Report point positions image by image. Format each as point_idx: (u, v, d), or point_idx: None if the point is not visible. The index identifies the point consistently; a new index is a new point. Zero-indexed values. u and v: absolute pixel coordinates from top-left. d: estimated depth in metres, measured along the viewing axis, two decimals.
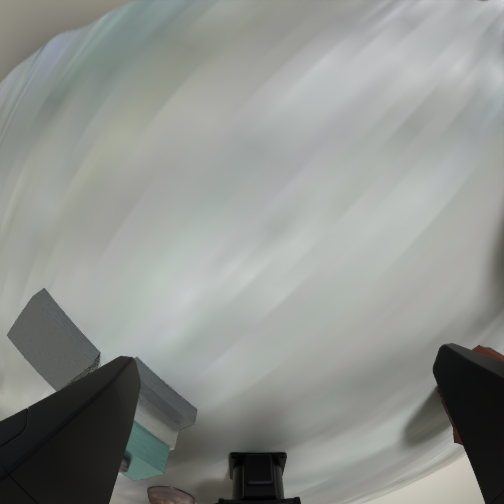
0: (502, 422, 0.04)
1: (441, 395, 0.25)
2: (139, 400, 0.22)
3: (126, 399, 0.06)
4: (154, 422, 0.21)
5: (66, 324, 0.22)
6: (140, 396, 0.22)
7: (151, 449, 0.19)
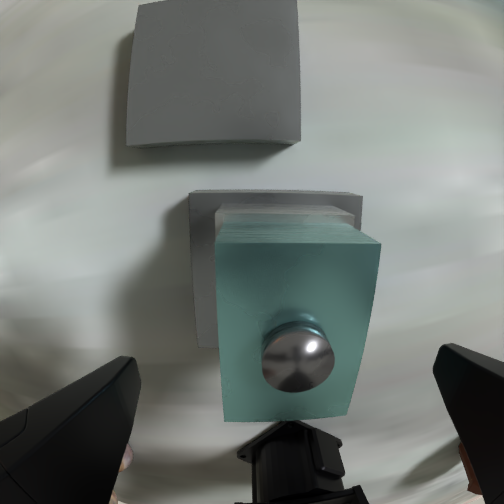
0: (502, 422, 0.04)
1: None
2: None
3: (126, 399, 0.06)
4: None
5: None
6: None
7: None
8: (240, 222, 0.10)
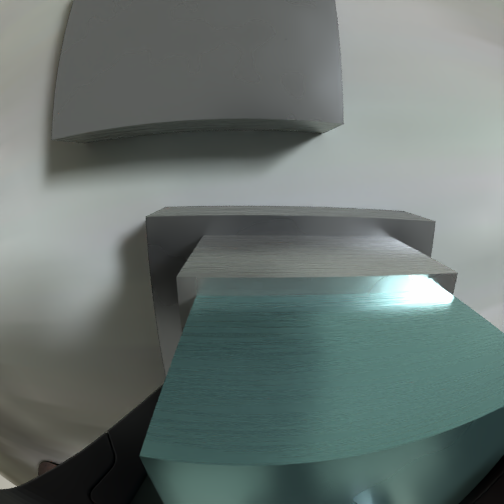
0: None
1: None
2: None
3: None
4: None
5: None
6: None
7: None
8: (233, 299, 0.04)
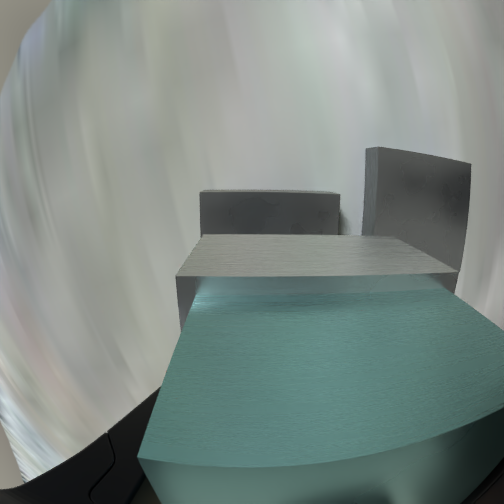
0: None
1: None
2: None
3: None
4: None
5: (268, 190, 0.17)
6: None
7: None
8: (233, 298, 0.04)
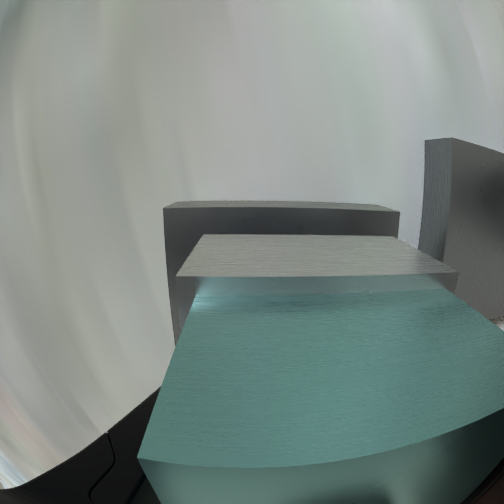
0: None
1: None
2: None
3: None
4: None
5: (281, 203, 0.10)
6: None
7: None
8: (233, 298, 0.04)
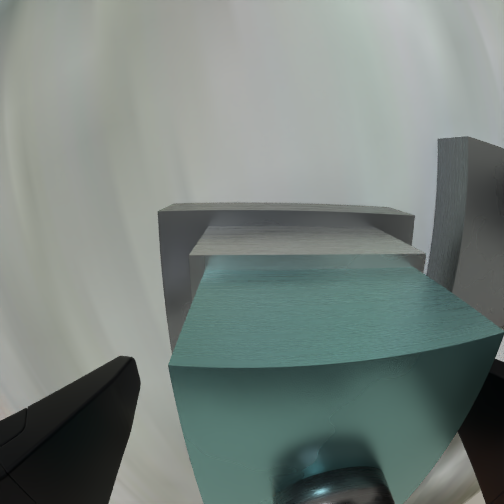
0: (502, 422, 0.04)
1: None
2: None
3: (125, 399, 0.06)
4: None
5: (287, 205, 0.09)
6: None
7: None
8: (235, 272, 0.06)
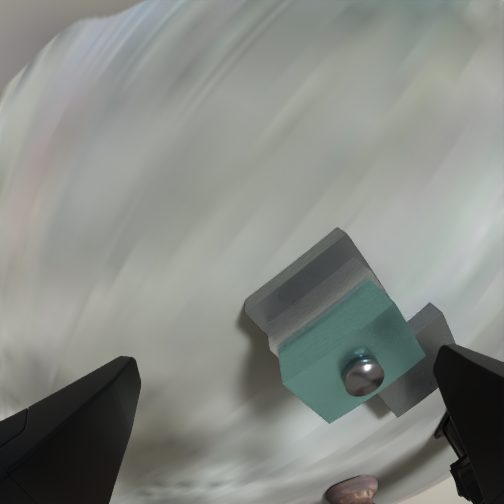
0: (502, 422, 0.04)
1: None
2: None
3: (126, 399, 0.06)
4: None
5: None
6: None
7: None
8: None
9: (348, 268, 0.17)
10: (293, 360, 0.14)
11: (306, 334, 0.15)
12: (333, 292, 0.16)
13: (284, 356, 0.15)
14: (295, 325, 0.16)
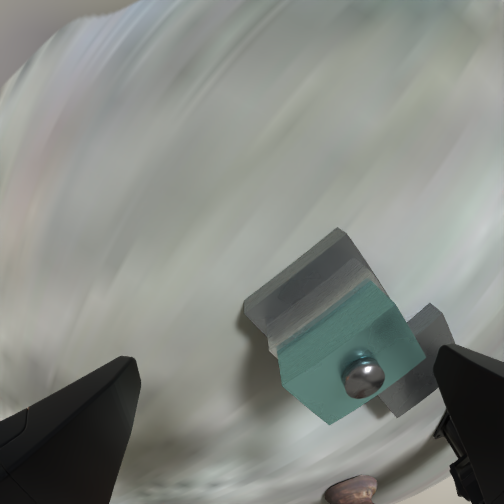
0: (502, 422, 0.04)
1: None
2: None
3: (126, 399, 0.06)
4: None
5: None
6: None
7: None
8: None
9: (348, 269, 0.17)
10: (293, 362, 0.14)
11: (306, 335, 0.15)
12: (333, 293, 0.16)
13: (284, 358, 0.15)
14: (295, 326, 0.16)
